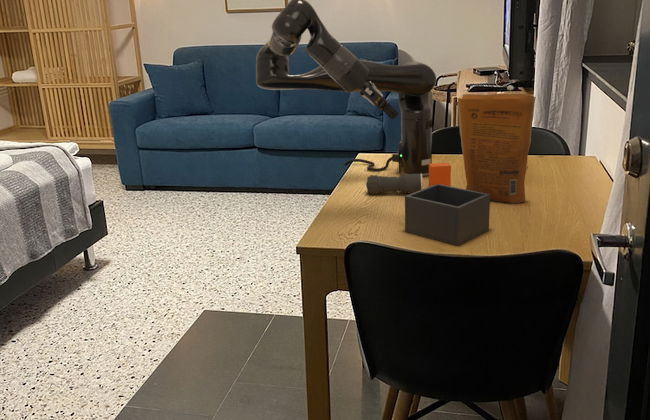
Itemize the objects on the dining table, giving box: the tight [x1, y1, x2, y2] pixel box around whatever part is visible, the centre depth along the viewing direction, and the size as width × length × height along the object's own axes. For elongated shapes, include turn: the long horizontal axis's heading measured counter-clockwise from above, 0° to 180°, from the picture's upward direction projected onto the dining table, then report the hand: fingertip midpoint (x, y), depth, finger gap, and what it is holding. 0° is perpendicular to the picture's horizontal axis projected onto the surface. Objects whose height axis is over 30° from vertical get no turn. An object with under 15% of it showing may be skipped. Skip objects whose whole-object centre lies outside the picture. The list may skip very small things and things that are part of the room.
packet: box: [428, 162, 452, 187], centre depth 169 cm, size 5×3×11 cm, turn 93°
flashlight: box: [365, 174, 424, 195], centre depth 182 cm, size 15×5×5 cm, turn 84°
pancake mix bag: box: [456, 93, 536, 204], centre depth 169 cm, size 7×19×28 cm, turn 58°
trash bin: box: [404, 184, 491, 246], centre depth 152 cm, size 15×13×9 cm
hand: (393, 113), depth 162 cm, fingers open, 8 cm apart
